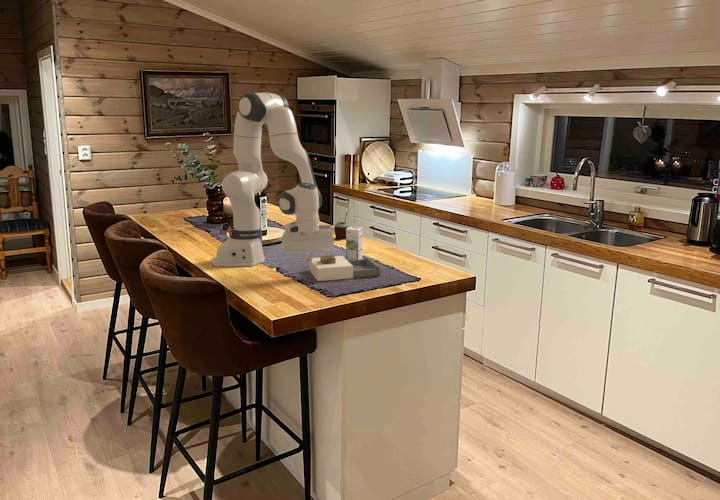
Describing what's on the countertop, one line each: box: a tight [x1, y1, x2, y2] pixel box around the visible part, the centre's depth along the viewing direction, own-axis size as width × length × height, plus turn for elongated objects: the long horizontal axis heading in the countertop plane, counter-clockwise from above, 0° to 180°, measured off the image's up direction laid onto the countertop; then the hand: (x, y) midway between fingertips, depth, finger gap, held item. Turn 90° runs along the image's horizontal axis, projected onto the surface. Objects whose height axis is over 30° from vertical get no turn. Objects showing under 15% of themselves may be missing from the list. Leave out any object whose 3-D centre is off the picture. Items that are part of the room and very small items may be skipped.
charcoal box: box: [347, 256, 381, 279], centre depth 242 cm, size 11×16×4 cm, turn 17°
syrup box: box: [345, 226, 364, 260], centre depth 258 cm, size 6×6×14 cm
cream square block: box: [308, 255, 354, 282], centre depth 239 cm, size 14×16×5 cm
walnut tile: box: [320, 254, 336, 264], centre depth 237 cm, size 5×5×2 cm
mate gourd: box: [333, 208, 351, 241], centre depth 300 cm, size 8×8×15 cm
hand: (308, 260), depth 235 cm, fingers closed
